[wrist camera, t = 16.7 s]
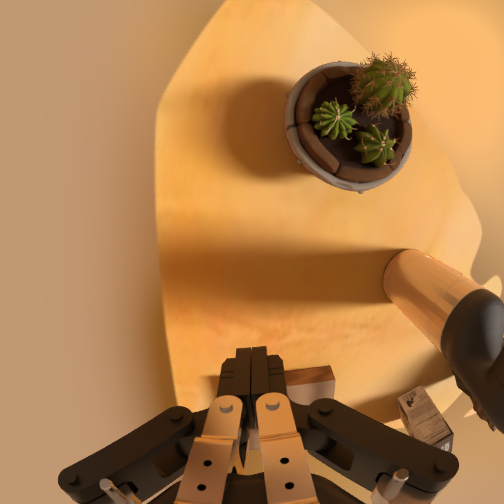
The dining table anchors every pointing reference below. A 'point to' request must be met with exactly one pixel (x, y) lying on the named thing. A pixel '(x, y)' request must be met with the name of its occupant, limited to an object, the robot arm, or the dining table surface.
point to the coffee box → (424, 419)
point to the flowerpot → (351, 122)
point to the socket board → (303, 391)
